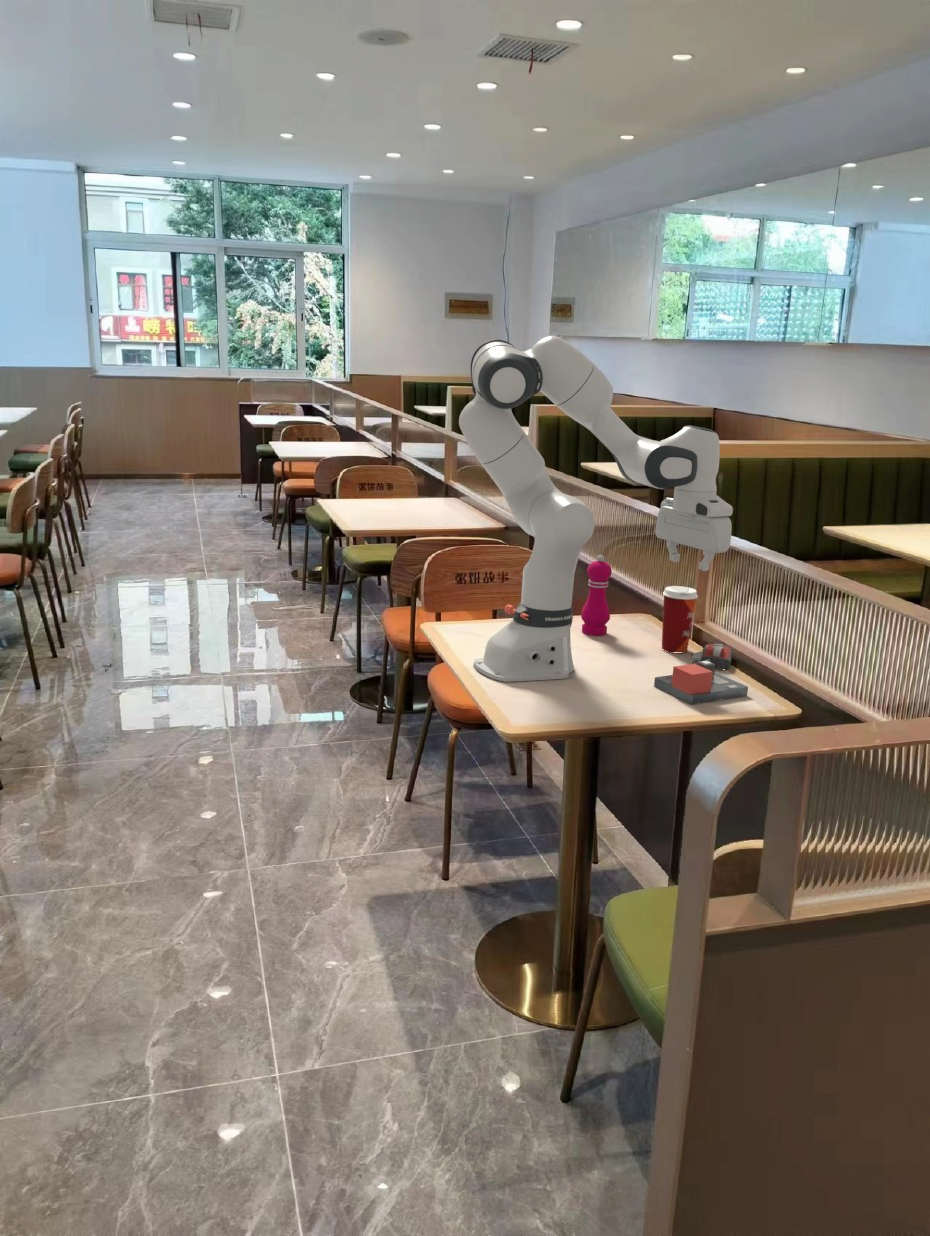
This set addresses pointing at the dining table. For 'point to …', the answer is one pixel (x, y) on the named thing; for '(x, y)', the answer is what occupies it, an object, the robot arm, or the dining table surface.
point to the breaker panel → (719, 691)
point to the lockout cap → (692, 678)
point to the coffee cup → (677, 617)
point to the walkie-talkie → (715, 656)
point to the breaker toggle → (707, 665)
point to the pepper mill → (597, 599)
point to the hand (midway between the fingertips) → (688, 565)
